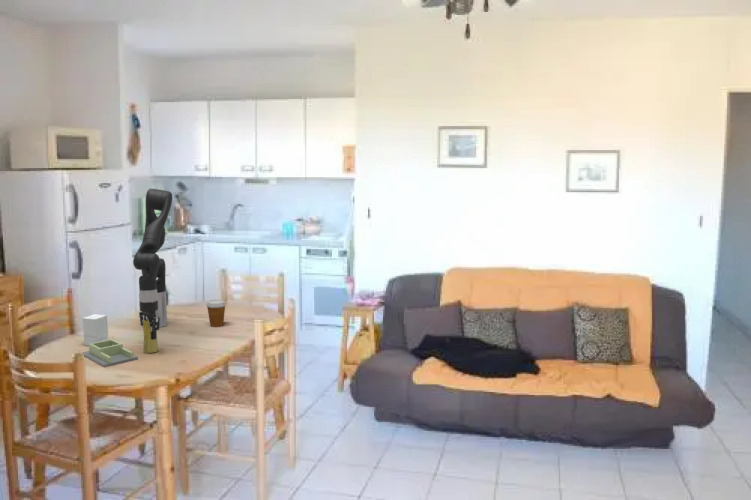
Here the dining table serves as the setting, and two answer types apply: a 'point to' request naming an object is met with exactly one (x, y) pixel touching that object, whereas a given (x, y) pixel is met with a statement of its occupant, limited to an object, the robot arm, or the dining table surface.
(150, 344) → the vase
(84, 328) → the supplement box
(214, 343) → the dining table surface
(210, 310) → the disposable coffee cup
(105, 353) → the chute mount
